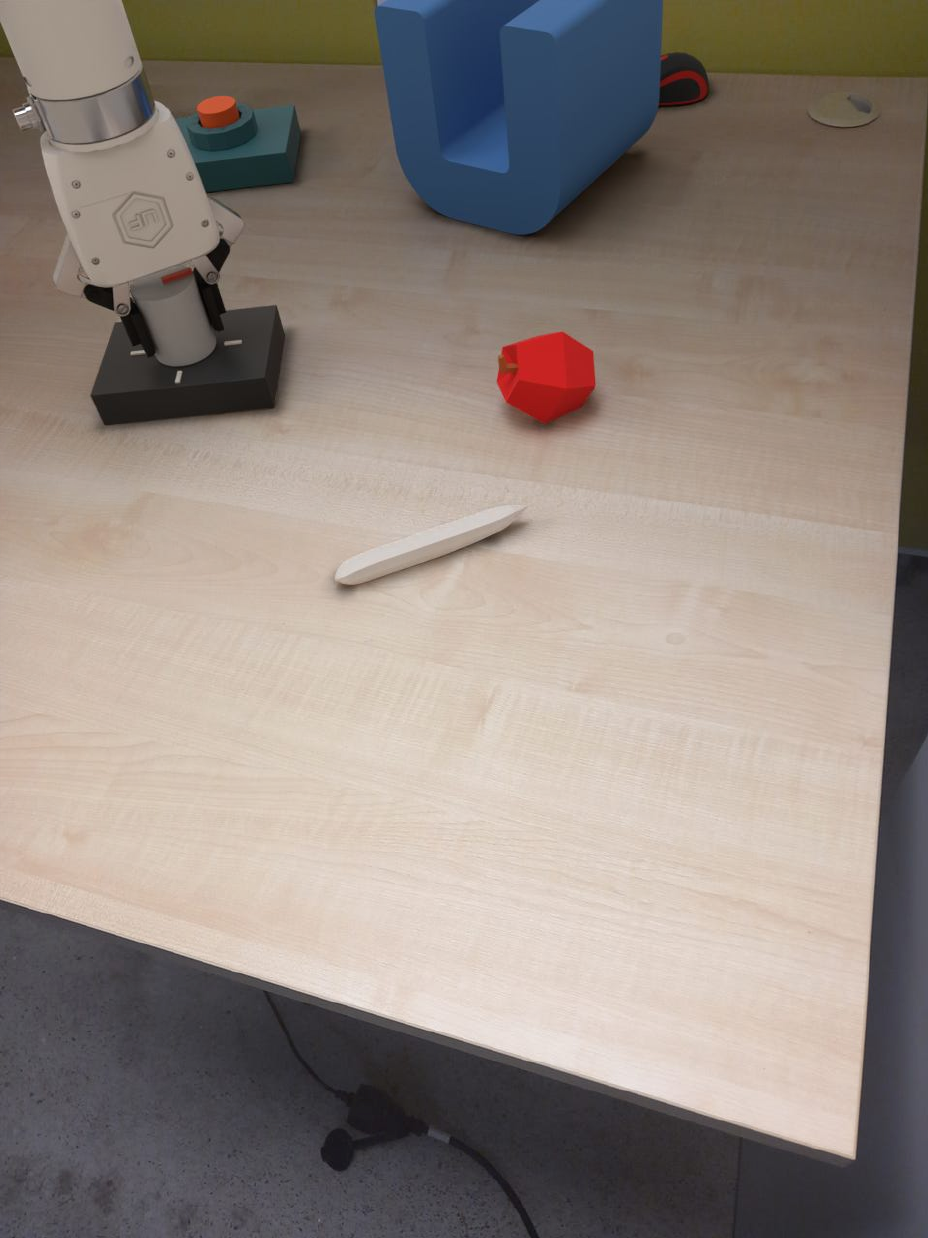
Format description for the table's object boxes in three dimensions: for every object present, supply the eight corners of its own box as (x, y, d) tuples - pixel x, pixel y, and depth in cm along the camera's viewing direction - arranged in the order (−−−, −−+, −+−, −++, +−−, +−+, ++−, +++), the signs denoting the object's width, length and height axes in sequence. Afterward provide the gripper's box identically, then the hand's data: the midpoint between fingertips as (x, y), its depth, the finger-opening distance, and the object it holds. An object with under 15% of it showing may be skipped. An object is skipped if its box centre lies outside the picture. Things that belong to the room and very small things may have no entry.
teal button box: (161, 197, 107) (144, 150, 103) (177, 148, 114) (162, 102, 110) (292, 182, 106) (281, 133, 102) (301, 133, 113) (290, 86, 109)
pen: (533, 526, 70) (532, 509, 69) (339, 593, 68) (334, 576, 67) (524, 512, 71) (523, 494, 70) (333, 577, 69) (328, 561, 68)
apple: (598, 308, 77) (500, 297, 74) (622, 374, 73) (520, 366, 71) (564, 374, 82) (471, 366, 79) (585, 439, 79) (489, 433, 76)
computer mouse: (600, 91, 112) (600, 52, 109) (699, 75, 112) (702, 36, 109) (612, 116, 108) (612, 76, 105) (714, 100, 108) (718, 60, 105)
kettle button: (199, 132, 105) (194, 115, 104) (204, 114, 108) (199, 97, 107) (237, 127, 105) (232, 110, 104) (241, 110, 108) (237, 93, 106)
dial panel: (104, 425, 83) (89, 393, 80) (127, 351, 89) (114, 320, 87) (274, 408, 82) (264, 375, 79) (285, 334, 88) (276, 302, 86)
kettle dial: (165, 374, 81) (137, 305, 76) (148, 343, 84) (121, 274, 79) (224, 352, 82) (200, 282, 77) (206, 322, 85) (182, 253, 80)
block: (404, 205, 100) (373, 4, 87) (505, 125, 109) (490, -69, 95) (562, 246, 93) (554, 33, 79) (657, 157, 101) (665, -50, 88)
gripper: (-21, 165, 64) (90, 398, 78) (233, 85, 68) (296, 321, 82) (-40, 122, 69) (68, 350, 83) (199, 50, 73) (264, 279, 86)
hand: (180, 333), depth 82 cm, fingers closed on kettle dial, 5 cm apart
